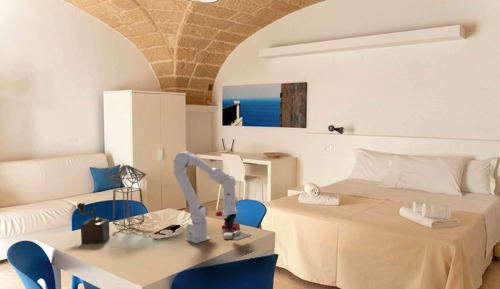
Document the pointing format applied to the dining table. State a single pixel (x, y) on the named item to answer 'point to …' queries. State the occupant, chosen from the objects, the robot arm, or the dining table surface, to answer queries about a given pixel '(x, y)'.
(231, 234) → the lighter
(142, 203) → the geometric lantern
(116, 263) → the dining table surface
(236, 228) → the red flower sprig
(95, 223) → the coffee grinder
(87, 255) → the dining table surface
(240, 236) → the mat
